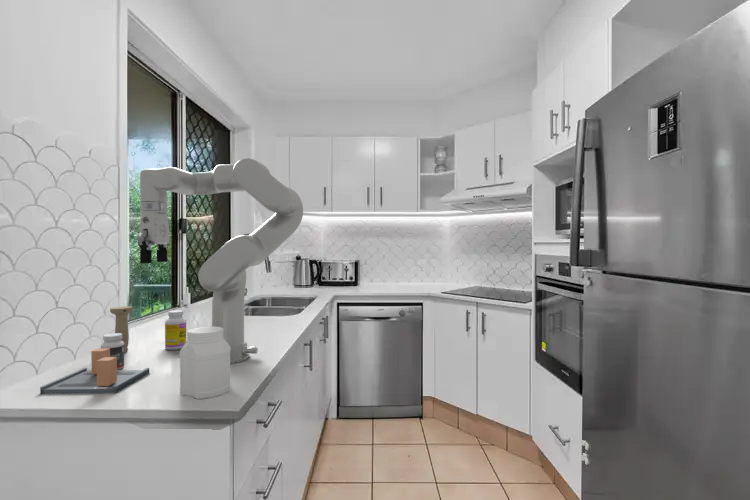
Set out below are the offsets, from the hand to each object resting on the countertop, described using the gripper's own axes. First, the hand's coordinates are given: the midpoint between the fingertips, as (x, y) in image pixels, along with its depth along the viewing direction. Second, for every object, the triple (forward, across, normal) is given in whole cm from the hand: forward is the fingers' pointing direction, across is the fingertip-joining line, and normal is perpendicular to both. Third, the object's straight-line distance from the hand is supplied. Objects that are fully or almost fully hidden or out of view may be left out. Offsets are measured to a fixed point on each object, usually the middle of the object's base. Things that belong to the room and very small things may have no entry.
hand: (154, 262), depth 129 cm
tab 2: (+29, -28, -3) cm, 41 cm away
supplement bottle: (+31, +12, -1) cm, 33 cm away
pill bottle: (+31, -12, +6) cm, 33 cm away
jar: (+31, -30, -28) cm, 51 cm away
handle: (+31, +6, +14) cm, 34 cm away
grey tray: (+30, -24, +2) cm, 39 cm away
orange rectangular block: (+29, -19, +4) cm, 35 cm away
